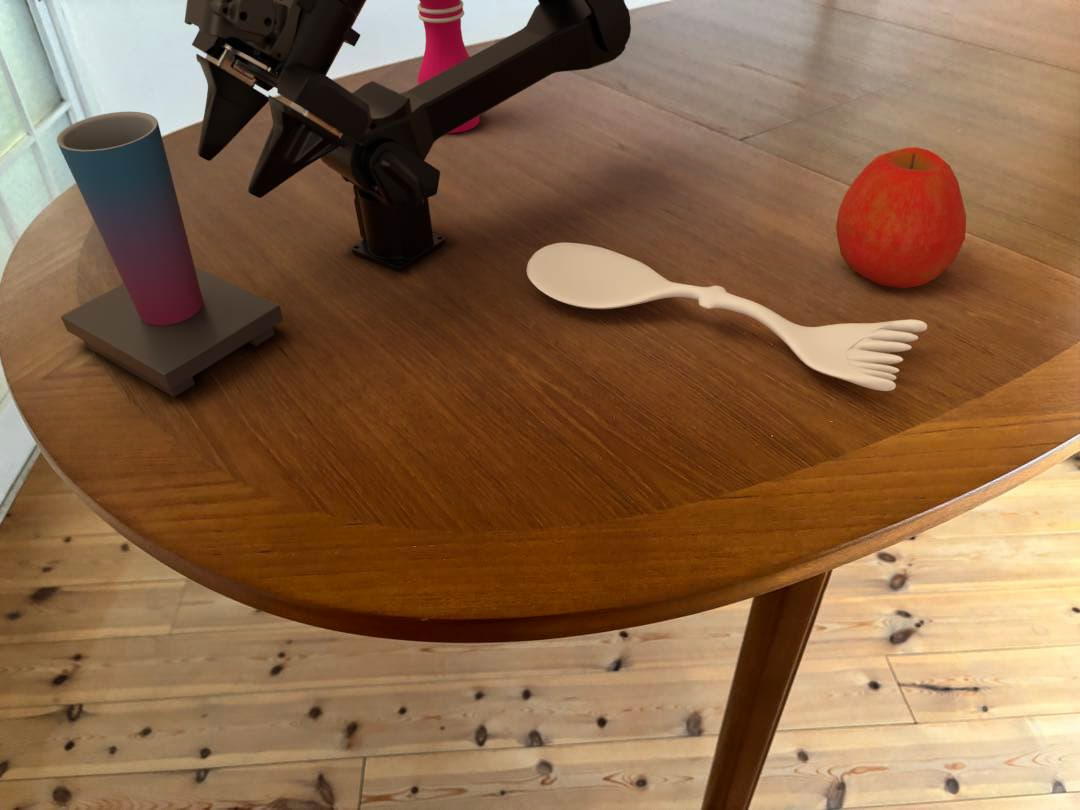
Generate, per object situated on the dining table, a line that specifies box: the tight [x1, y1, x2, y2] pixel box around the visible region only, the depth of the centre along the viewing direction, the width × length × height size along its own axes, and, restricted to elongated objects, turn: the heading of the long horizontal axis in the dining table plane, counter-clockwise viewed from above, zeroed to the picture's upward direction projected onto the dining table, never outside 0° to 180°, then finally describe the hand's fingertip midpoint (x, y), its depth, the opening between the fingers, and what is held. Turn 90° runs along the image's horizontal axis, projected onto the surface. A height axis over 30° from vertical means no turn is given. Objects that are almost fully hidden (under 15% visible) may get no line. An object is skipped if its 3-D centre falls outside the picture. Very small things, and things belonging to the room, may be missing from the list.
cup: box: [56, 111, 203, 326], centre depth 69 cm, size 7×7×15 cm
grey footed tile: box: [60, 266, 284, 398], centre depth 75 cm, size 14×11×3 cm
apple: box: [835, 146, 967, 289], centre depth 76 cm, size 10×10×10 cm
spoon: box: [526, 242, 928, 392], centre depth 73 cm, size 9×32×4 cm, turn 57°
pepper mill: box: [417, 0, 480, 134], centre depth 102 cm, size 7×7×20 cm
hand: (227, 175), depth 72 cm, fingers open, 9 cm apart
